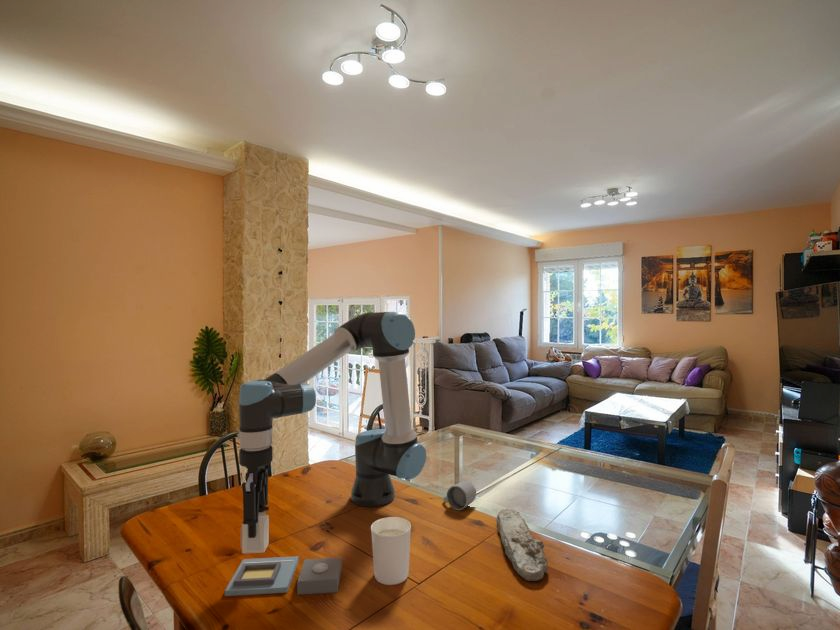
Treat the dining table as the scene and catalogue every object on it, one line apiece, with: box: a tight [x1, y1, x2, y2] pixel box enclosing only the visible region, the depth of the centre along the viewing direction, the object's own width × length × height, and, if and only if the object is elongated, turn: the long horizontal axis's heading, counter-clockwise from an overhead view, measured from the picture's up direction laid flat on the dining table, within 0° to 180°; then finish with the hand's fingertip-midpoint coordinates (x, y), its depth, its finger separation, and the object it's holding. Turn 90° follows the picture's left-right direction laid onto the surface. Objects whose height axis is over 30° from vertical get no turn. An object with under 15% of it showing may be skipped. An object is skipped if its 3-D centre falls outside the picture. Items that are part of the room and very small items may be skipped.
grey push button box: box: [296, 557, 342, 595], centre depth 105 cm, size 9×9×3 cm
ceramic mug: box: [442, 480, 477, 511], centre depth 147 cm, size 11×8×8 cm
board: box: [224, 555, 300, 597], centre depth 107 cm, size 14×13×2 cm
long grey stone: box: [496, 508, 549, 582], centre depth 121 cm, size 35×5×10 cm
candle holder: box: [370, 516, 412, 586], centre depth 107 cm, size 10×10×12 cm
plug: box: [239, 514, 270, 554], centre depth 105 cm, size 6×4×7 cm
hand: (256, 544), depth 105 cm, fingers closed on plug, 4 cm apart
